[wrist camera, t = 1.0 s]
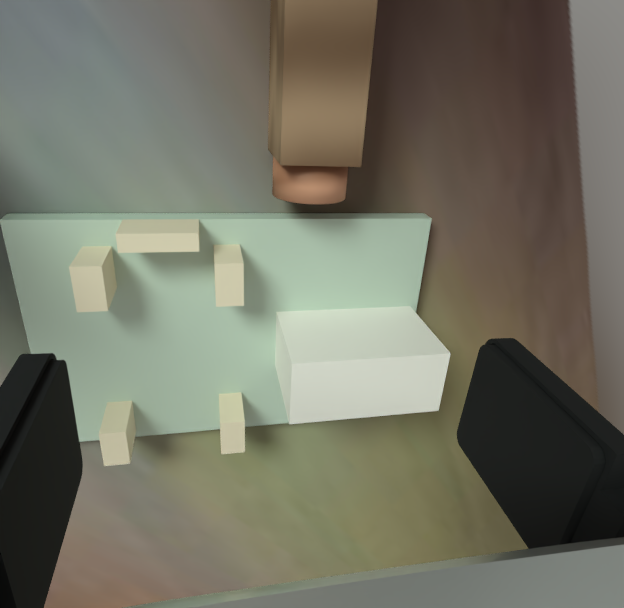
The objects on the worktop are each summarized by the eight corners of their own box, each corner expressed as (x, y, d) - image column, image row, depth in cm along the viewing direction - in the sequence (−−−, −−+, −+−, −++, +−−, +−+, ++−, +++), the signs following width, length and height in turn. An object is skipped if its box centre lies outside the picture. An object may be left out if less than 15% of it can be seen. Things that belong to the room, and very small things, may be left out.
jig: (7, 213, 26) (-25, 238, 22) (423, 213, 31) (453, 233, 27) (57, 431, 32) (38, 479, 29) (393, 403, 37) (414, 440, 34)
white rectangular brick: (276, 311, 30) (292, 363, 25) (410, 306, 32) (450, 353, 27) (275, 365, 32) (289, 424, 27) (401, 356, 34) (438, 410, 29)
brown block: (272, -97, 22) (289, -135, 18) (354, -85, 23) (389, -119, 19) (267, 184, 28) (279, 206, 24) (333, 185, 29) (357, 207, 25)
